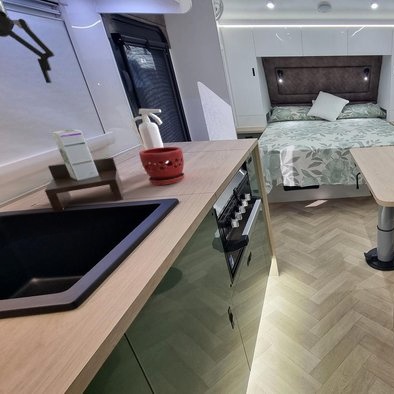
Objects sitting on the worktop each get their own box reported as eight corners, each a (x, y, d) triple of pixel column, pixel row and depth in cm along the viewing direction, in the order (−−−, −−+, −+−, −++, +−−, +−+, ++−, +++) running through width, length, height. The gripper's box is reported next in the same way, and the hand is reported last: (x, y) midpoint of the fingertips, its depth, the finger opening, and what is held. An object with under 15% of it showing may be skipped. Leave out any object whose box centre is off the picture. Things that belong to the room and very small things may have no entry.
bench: (54, 212, 84) (38, 176, 79) (62, 198, 94) (48, 165, 90) (122, 199, 92) (111, 166, 88) (123, 187, 103) (113, 157, 98)
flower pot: (188, 183, 106) (180, 150, 101) (146, 189, 101) (135, 155, 96) (188, 173, 117) (181, 144, 112) (150, 178, 111) (141, 148, 107)
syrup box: (99, 175, 92) (83, 130, 87) (76, 181, 88) (57, 133, 82) (92, 173, 95) (76, 128, 90) (69, 178, 91) (50, 131, 85)
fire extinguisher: (145, 170, 122) (127, 108, 112) (177, 167, 125) (161, 107, 115) (139, 175, 116) (119, 110, 106) (172, 172, 119) (156, 108, 109)
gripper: (-109, -16, 66) (-58, 84, 74) (42, -2, 79) (72, 82, 87) (-91, -8, 71) (-45, 84, 79) (48, 4, 85) (75, 82, 93)
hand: (16, 83), depth 83 cm, fingers open, 13 cm apart
